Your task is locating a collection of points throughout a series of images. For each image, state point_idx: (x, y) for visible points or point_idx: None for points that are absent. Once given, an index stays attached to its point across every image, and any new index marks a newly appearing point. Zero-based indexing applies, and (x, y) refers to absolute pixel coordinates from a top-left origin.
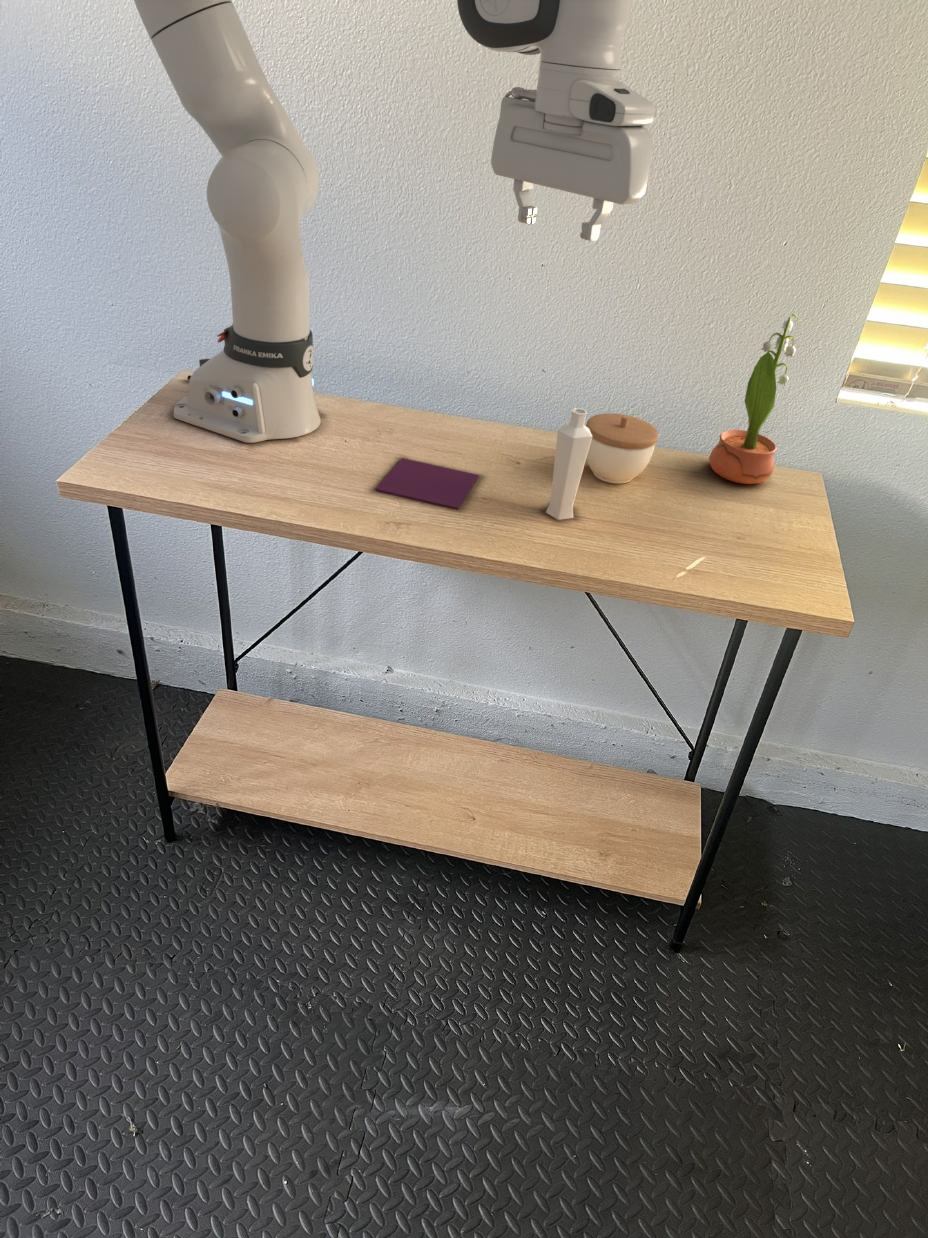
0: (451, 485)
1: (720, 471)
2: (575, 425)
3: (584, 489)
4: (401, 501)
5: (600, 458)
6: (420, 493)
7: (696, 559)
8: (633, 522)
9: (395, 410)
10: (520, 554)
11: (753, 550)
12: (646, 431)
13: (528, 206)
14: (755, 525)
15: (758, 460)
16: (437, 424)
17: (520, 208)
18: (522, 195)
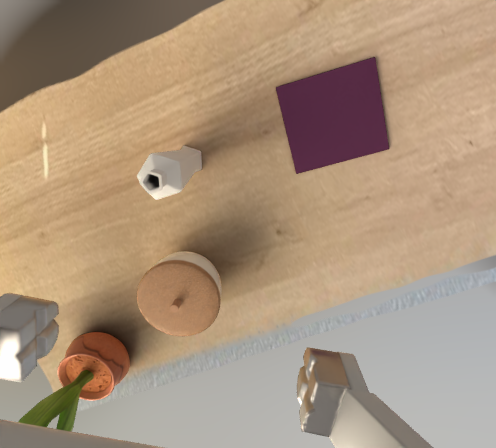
0: (308, 129)
1: (106, 335)
2: (154, 169)
3: (196, 225)
4: (336, 57)
5: (186, 253)
6: (326, 85)
7: (48, 168)
8: (126, 195)
9: (459, 255)
10: (174, 48)
11: (22, 222)
12: (151, 306)
13: (337, 419)
14: (44, 268)
15: (68, 354)
16: (399, 256)
17: (357, 383)
18: (378, 442)
